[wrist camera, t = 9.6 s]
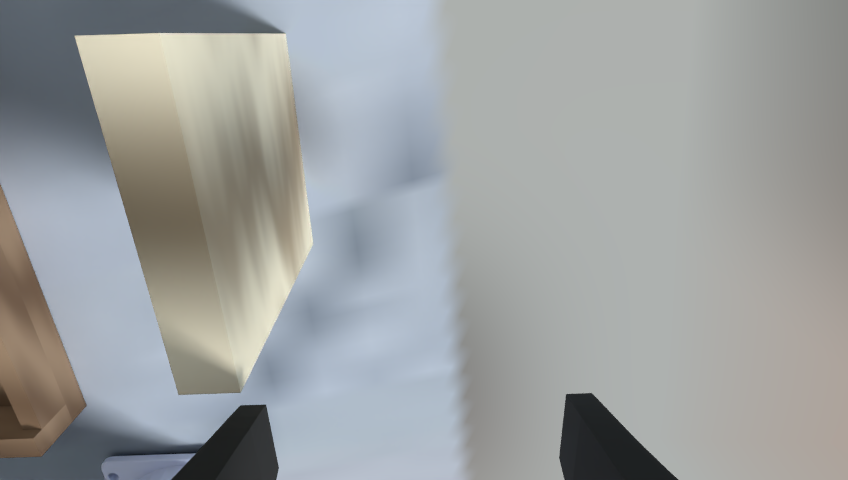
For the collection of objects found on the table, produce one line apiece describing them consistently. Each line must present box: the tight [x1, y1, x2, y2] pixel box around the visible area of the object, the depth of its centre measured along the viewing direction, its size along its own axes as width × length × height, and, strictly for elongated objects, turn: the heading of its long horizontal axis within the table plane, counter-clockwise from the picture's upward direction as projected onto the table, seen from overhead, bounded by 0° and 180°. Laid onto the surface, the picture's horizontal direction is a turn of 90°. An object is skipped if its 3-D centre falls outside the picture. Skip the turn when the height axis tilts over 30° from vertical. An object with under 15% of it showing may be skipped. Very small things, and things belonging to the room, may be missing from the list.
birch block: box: [75, 33, 313, 395], centre depth 14 cm, size 8×2×9 cm, turn 2°
